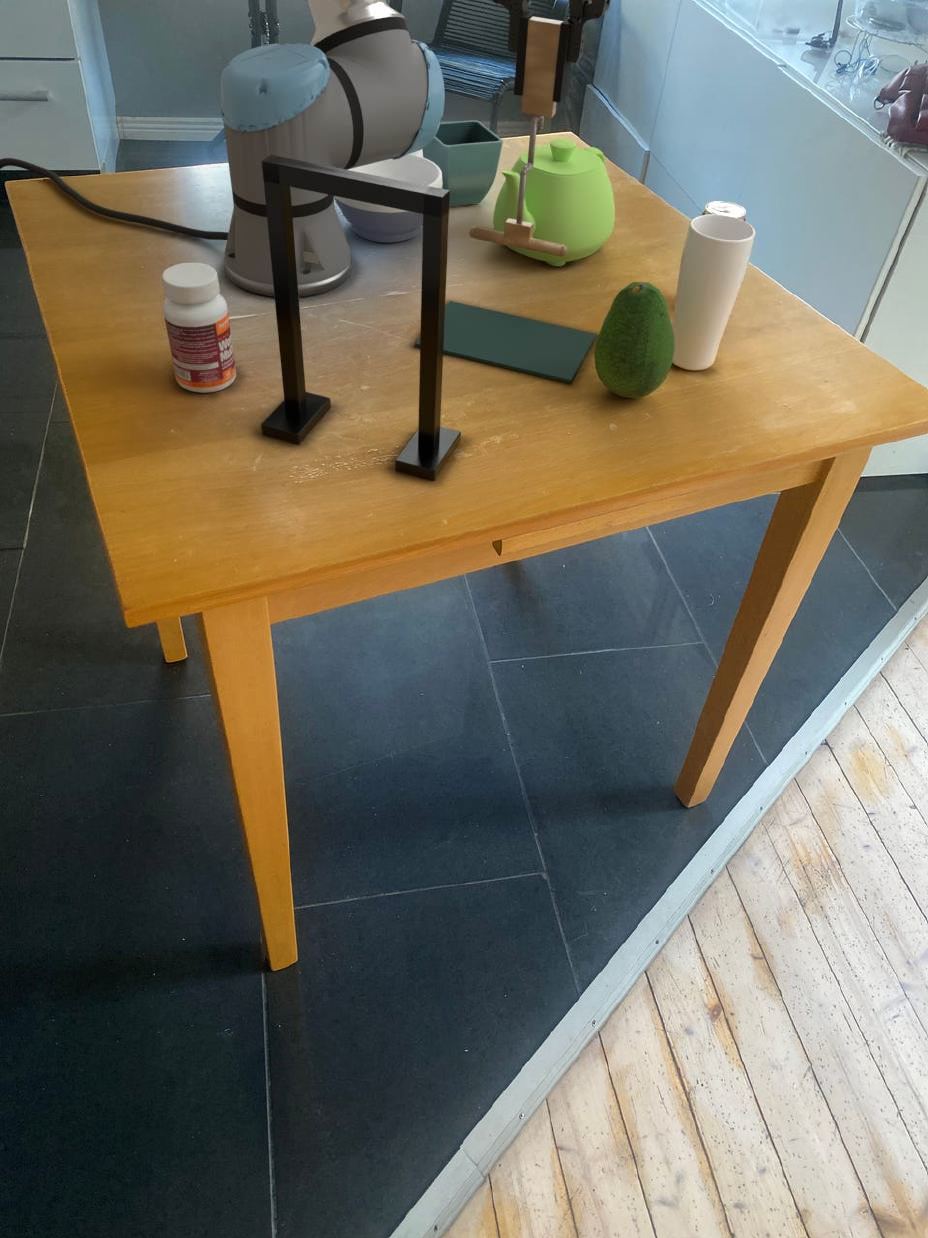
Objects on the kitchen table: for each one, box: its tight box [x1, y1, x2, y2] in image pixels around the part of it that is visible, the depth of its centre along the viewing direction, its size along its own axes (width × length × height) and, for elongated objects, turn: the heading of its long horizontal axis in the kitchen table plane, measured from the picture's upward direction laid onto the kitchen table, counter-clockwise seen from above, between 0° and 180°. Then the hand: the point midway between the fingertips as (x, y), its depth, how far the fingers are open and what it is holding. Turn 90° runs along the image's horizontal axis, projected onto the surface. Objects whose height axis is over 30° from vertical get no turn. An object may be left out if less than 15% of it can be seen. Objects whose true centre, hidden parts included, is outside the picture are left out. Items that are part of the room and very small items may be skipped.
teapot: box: [492, 138, 616, 267], centre depth 120 cm, size 22×15×13 cm
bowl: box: [334, 153, 443, 244], centre depth 124 cm, size 14×14×8 cm
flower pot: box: [421, 119, 504, 207], centre depth 131 cm, size 9×9×9 cm
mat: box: [414, 300, 598, 384], centre depth 107 cm, size 18×11×1 cm, turn 70°
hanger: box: [468, 16, 568, 257], centre depth 94 cm, size 11×6×20 cm, turn 70°
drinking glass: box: [671, 214, 756, 371], centre depth 101 cm, size 7×7×15 cm
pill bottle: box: [161, 262, 237, 394], centre depth 94 cm, size 6×6×11 cm
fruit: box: [593, 281, 675, 400], centre depth 96 cm, size 8×8×12 cm
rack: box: [260, 155, 462, 482], centre depth 84 cm, size 18×7×25 cm, turn 70°
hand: (540, 93), depth 92 cm, fingers closed on hanger, 3 cm apart
